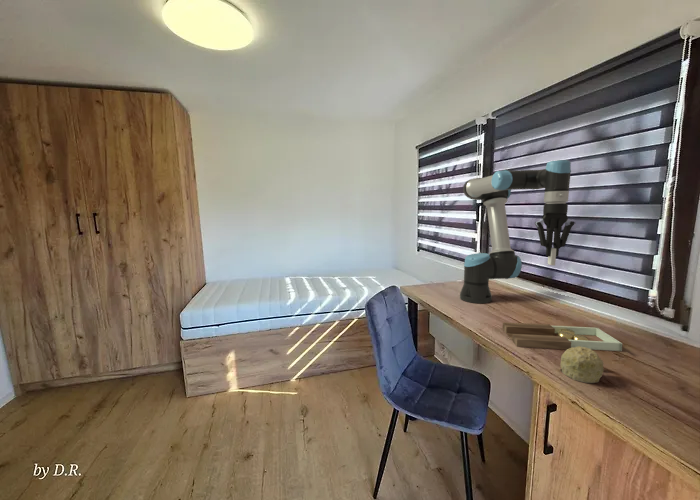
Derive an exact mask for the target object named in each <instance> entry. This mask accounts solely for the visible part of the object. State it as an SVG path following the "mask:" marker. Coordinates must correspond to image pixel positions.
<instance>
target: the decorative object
mask: <svg viewBox="0 0 700 500" xmlns="http://www.w3.org/2000/svg"><path fill="white" fill-rule="evenodd" d="M560 371H561V373H562V374H563V375H565V376H566V377H568V378H570V379H571V380H574V381H577V382H581V383H586V384H595V383H599V382H600V379H601V377H602V376H603V373H604V361H603V359H602V358H601V357H600V356H599V354H598V353H597V351H594V350H593V349H589V348H586V347H580V346H578V347H574V348H573V347H572V348H569V349H567V350H564V352H562V354H561V357H560Z"/></svg>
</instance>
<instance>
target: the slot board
mask: <svg viewBox="0 0 700 500" xmlns="http://www.w3.org/2000/svg"><path fill="white" fill-rule="evenodd" d="M552 326H553V325H551V324H548V323H547V324H546V323H527V322H526V323H525V322H506V321H505V322H504V321H503V322H502V329H501V330H503V331H504V333H505V334H506V335H507V336H508V337H509V339H510V340H511V341H512V343H513V344H514V345H515V347H517V348H518V347H519V348H532V349H533V348H535V349H553V350H564V351H566V350H567V349H569V348H571V342H570V341H569V340H568V339H567V338H565V337H561V336H558V335H555V334H556V333H555V329H554V328H553V327H552Z"/></svg>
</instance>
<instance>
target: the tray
mask: <svg viewBox="0 0 700 500" xmlns="http://www.w3.org/2000/svg"><path fill="white" fill-rule="evenodd" d="M551 326H552V327H553V328H554V329H555V334H558V332H559V331H561V329H569V330H572V331H574V332H575V334H574V335H582V336H596V337H597V338H599V339H600V340H601V341H600V340H587V341H585V340H569V341H570V342H571V348H572V347H573V348H574V347H578V346H580V347H586V348H589V349H591V350H593V351H594V350H596V351H611V352H612V351H613V352H615V351H616V352H622V351H623V343H622V342H621V341H619V340H618V339H616V338H614V337H613V336H611V335H610V334H608V333H606V332H605V331H604V330H602V329H600V328H599V327H592V326H591V327H589V326H586V327H585V326H569V325H568V326H567V325H551Z"/></svg>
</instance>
